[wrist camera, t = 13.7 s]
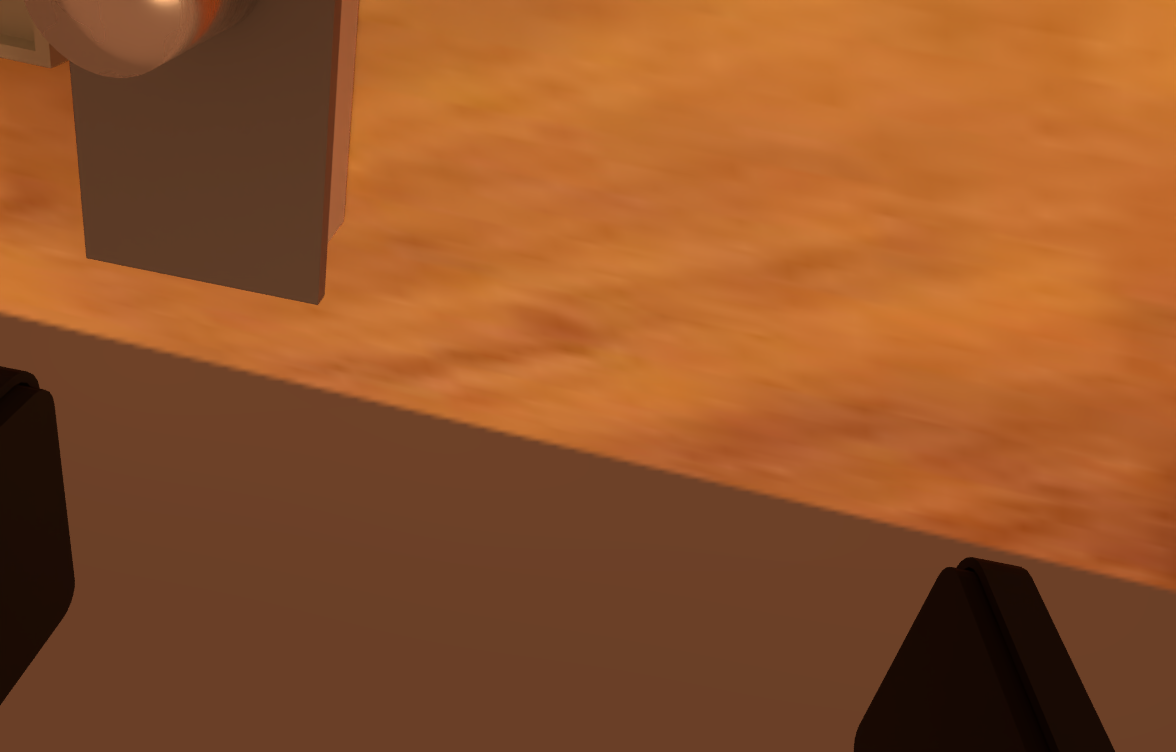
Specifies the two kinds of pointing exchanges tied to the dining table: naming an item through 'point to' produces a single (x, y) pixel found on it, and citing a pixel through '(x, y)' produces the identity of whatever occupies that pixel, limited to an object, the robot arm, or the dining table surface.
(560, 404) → the dining table surface
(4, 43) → the grey square tray
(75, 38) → the knob
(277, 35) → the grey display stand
